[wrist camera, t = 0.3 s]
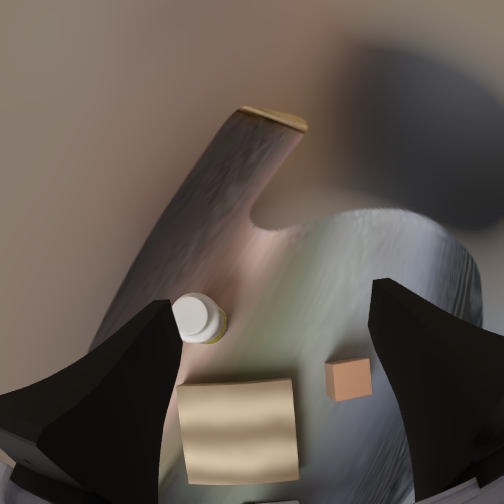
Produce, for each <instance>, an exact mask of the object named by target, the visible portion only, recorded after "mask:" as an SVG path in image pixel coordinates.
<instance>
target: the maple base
mask: <svg viewBox="0 0 504 504" xmlns="http://www.w3.org/2000/svg"><path fill="white" fill-rule="evenodd" d="M176 389H177V399H178V408H179V417H180V426H181V434H182V441H183V448H184V455H185V462H186V468H187V475H188V480H189V484H209V485H237V484H260V483H273V482H284V481H293V480H299V469H298V454H297V441H296V428H295V415H294V404H293V392H292V381H291V378H290V377H286V378H277V379H267V380H255V381H242V382H225V383H197V384H181V385H178V386H176Z"/></svg>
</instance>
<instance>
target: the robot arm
mask: <svg viewBox="0 0 504 504" xmlns="http://www.w3.org/2000/svg"><path fill="white" fill-rule="evenodd" d="M368 328H369V332H370V335H371V339H372V342H373V345H374V348H375V350H376V353H377V355H378V357H379V359H380V362H381V364H382V366H383V368H384V371H385V373H386V375H387V377H388V380H389V382H390V384H391V386H392V389H393V391H394V393H395V396H396V398H397V401H398V404H399V407H400V411H401V415H402V418H403V422H404V426H405V430H406V435H407V440H408V444H409V450H410V456H411V462H412V469H413V478H414V490H415V503H413V504H504V336H502V335H499V334H496V333H493V332H490V331H487V330H484V329H482V328H479V327H477V326H475V325H472V324H470V323H468V322H466V321H463V320H461V319H459V318H457V317H455V316H453V315H451V314H450V313H448V312H446V311H444V310H442V309H440V308H439V307H437V306H435V305H434V304H432V303H430V302H428V301H427V300H425V299H424V298H422V297H420V296H419V295H417V294H415V293H414V292H412V291H411V290H409V289H407V288H406V287H404V286H402V285H401V284H399V283H397V282H396V281H394V280H392V279H390V278H383V279H376V280H373V284H372V294H371V303H370V312H369V320H368ZM182 346H183V341H182V338H181V335H180V332H179V329H178V326H177V323H176V320H175V316H174V313H173V310H172V307H171V303H170V300H169V299H168V300H154V301H152V302H151V303H150V304H148V305H147V306H146V307H145V308H143V309H142V310H141V311H140V312H139V313H138V314H136V315H135V316H134V317H133V318H132V319H131V320H129V321H128V322H127V323H126V324H125V325H124V326H123V327H121V328H120V329H119V330H118V331H117V332H115V333H114V334H113V335H112V336H110V337H109V338H108V339H107V340H105V341H104V342H103V343H102V344H101V345H99V346H98V347H97V348H95V349H94V350H93V351H91V352H90V353H88V354H87V355H85V356H84V357H82V358H81V359H79V360H78V361H76V362H75V363H73V364H72V365H70V366H68V367H66V368H64V369H63V370H61V371H59V372H57V373H55V374H53V375H52V376H50V377H48V378H46V379H43V380H41V381H39V382H37V383H34V384H32V385H30V386H27V387H24V388H22V389H18V390H15V391H12V392H9V393H6V394H2V395H0V448H1V449H2V450H3V451H4V452H5V453H6V454H7V455H8V456H9V457H11V458H12V459H13V460H14V461H15V462H16V465H15V467H14V468H12V467H11V466H9V465H8V464H6V463H4V462H3V461H1V460H0V504H158V477H159V461H160V450H161V442H162V434H163V427H164V422H165V417H166V413H167V409H168V406H169V402H170V399H171V395H172V392H173V388H174V385H175V381H176V378H177V374H178V370H179V367H180V361H181V354H182ZM257 504H299V501H298V500H292V501H283V502H272V503H257Z"/></svg>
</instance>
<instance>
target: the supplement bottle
mask: <svg viewBox="0 0 504 504" xmlns="http://www.w3.org/2000/svg"><path fill="white" fill-rule="evenodd" d="M172 310H173V313H174V316H175V320H176V323H177V326H178V329H179V332H180V335H181V338H182V340H184V341H186V342H189V343H199V344H211V343H214V342H216V341H218V340H220V339H221V338H222V337H223V336H224V334H225V332H226V330H227V325H228V321H227V316H226V314H225V312H224V311H223V309H222V308H221V307H220V306H219V305H217V304H216V303H215V302H214V301H213V300H212V299H211V298H209V297H208V296H206V295H204V294H201V293H188V294H185V295H183V296H181V297H180V298H179V299H178V300H177V301H176V302H175V303H174V305H173V306H172Z"/></svg>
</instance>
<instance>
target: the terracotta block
mask: <svg viewBox="0 0 504 504" xmlns="http://www.w3.org/2000/svg"><path fill="white" fill-rule="evenodd" d="M325 373H326V384H327V396H329V397H330V398H331V399H333V400H334V401H336V402H337V401H342V400H347V399H353V398H357V397H362V396H367V395H371V394H372V387H371V374H370V363H369V358H352V359H346V360H340V361H334V362H328V363H325Z"/></svg>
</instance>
